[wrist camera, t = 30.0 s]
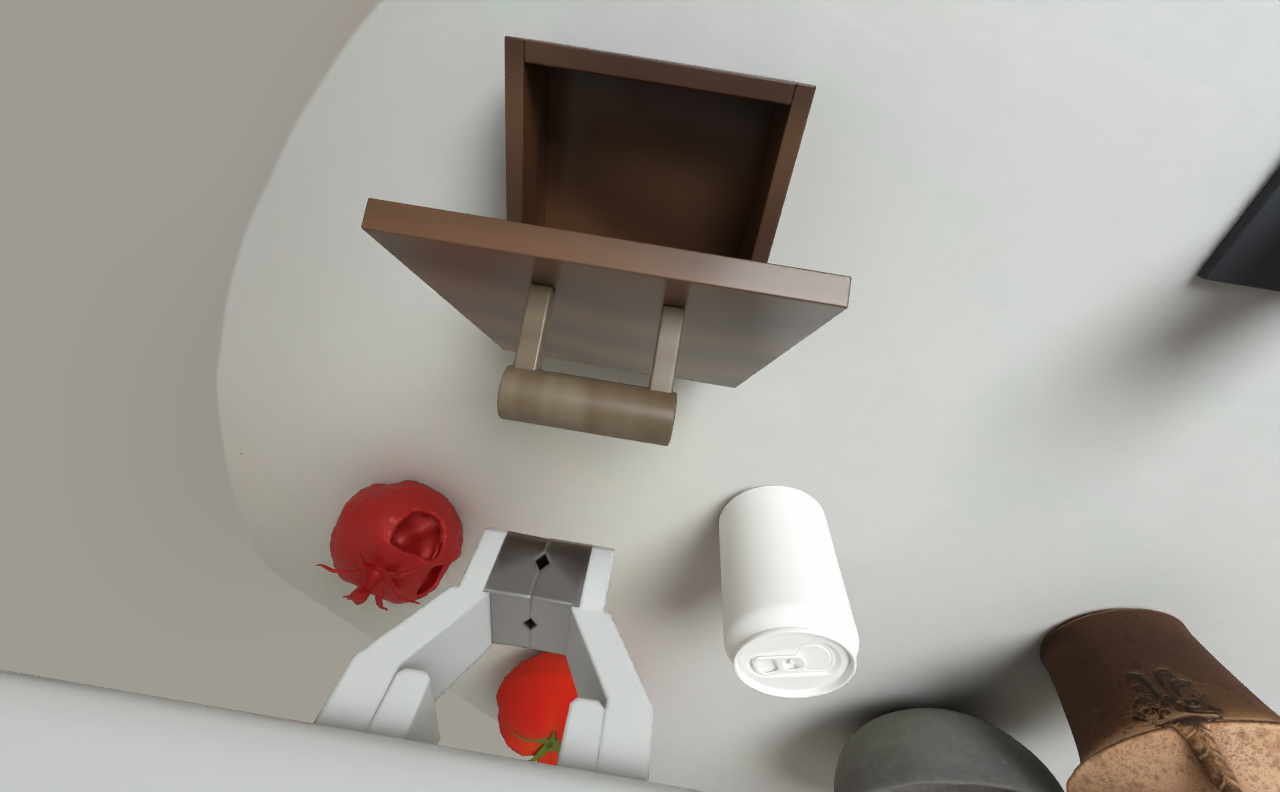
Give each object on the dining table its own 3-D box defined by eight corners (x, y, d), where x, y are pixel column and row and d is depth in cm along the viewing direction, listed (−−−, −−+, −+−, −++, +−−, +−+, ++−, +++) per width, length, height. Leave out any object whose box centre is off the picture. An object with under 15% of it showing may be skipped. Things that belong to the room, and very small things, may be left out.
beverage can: (831, 543, 41) (873, 696, 31) (733, 559, 44) (743, 707, 34) (813, 469, 38) (854, 618, 28) (706, 491, 40) (708, 635, 30)
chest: (538, 40, 25) (503, 35, 20) (795, 81, 25) (816, 86, 20) (533, 300, 32) (507, 338, 28) (730, 332, 32) (735, 375, 28)
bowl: (993, 649, 47) (1056, 776, 38) (1043, 748, 55) (1105, 870, 47) (787, 694, 54) (803, 809, 46) (859, 776, 63) (884, 885, 54)
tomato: (509, 623, 52) (479, 712, 45) (630, 644, 52) (619, 737, 45) (508, 686, 59) (482, 772, 52) (615, 705, 59) (603, 793, 52)
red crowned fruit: (378, 544, 47) (315, 639, 39) (346, 461, 42) (265, 552, 34) (483, 554, 46) (440, 652, 39) (464, 470, 41) (409, 565, 33)
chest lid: (367, 197, 13) (321, 384, 13) (852, 276, 13) (829, 469, 12) (506, 334, 28) (487, 425, 27) (737, 372, 27) (724, 464, 27)
